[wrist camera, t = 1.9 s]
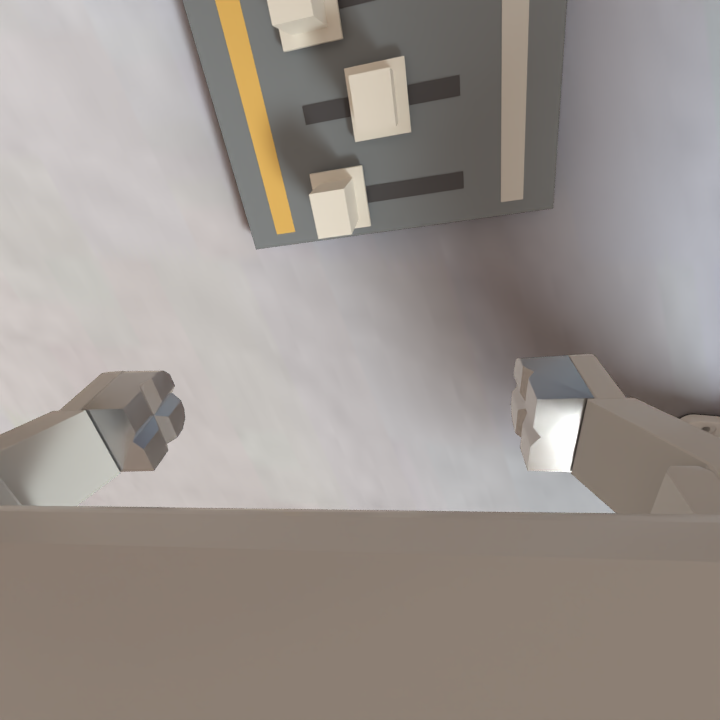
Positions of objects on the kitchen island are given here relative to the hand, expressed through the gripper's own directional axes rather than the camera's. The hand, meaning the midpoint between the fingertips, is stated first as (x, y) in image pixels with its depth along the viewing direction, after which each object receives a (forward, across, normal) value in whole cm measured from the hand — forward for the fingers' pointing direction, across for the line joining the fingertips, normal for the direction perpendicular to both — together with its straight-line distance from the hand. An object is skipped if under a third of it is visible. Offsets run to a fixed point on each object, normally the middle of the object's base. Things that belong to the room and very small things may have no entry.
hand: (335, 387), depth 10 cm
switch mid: (+26, 0, -6) cm, 27 cm away
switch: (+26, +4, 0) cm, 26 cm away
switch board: (+28, 0, -6) cm, 29 cm away
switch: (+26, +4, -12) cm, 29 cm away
